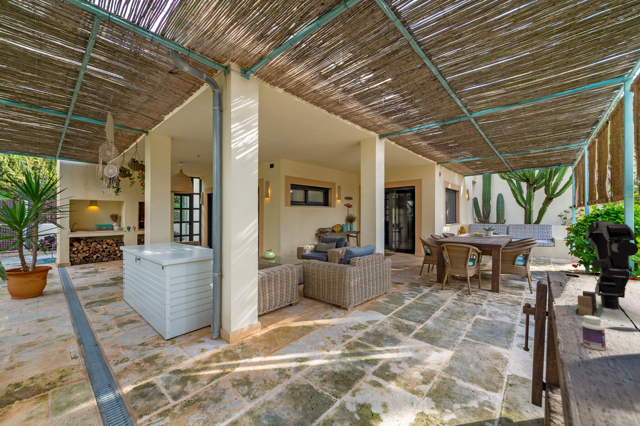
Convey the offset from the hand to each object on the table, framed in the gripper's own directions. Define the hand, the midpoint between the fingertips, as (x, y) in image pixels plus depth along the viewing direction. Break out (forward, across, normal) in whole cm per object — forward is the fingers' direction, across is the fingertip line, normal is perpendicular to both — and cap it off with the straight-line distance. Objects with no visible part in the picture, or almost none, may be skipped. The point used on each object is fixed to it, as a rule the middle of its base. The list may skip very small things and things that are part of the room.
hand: (621, 290), depth 111 cm
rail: (+12, +2, -10) cm, 16 cm away
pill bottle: (+12, +43, -4) cm, 45 cm away
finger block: (+11, +8, -10) cm, 17 cm away
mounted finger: (+11, -4, -10) cm, 15 cm away
